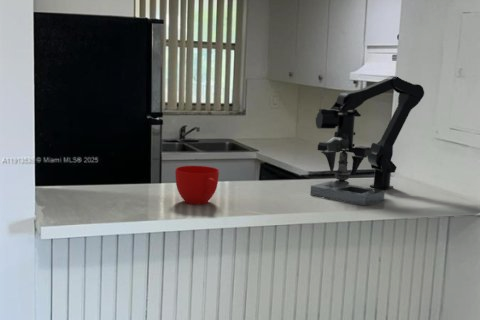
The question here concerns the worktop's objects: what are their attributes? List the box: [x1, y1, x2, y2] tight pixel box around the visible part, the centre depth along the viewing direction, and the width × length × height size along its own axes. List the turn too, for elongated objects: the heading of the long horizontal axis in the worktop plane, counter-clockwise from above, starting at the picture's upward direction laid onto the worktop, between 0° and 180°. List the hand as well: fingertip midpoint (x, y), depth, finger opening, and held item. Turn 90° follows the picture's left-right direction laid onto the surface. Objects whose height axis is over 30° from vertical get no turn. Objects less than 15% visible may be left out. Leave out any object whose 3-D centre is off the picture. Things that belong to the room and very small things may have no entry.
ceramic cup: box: [175, 165, 220, 205], centre depth 178 cm, size 13×17×10 cm
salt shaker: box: [333, 151, 352, 184], centre depth 210 cm, size 6×6×12 cm
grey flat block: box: [310, 180, 385, 207], centre depth 196 cm, size 13×20×3 cm, turn 50°
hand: (342, 173), depth 210 cm, fingers closed on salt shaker, 8 cm apart
